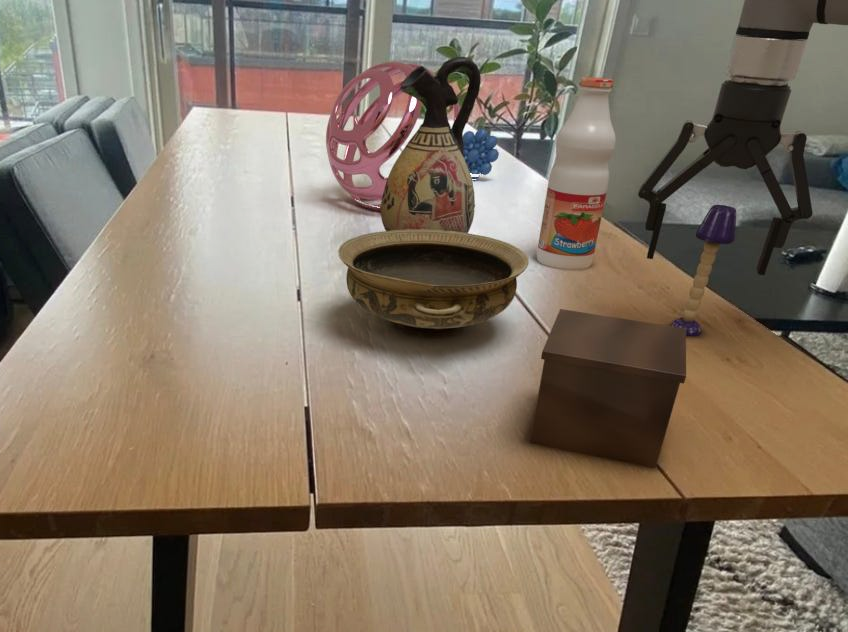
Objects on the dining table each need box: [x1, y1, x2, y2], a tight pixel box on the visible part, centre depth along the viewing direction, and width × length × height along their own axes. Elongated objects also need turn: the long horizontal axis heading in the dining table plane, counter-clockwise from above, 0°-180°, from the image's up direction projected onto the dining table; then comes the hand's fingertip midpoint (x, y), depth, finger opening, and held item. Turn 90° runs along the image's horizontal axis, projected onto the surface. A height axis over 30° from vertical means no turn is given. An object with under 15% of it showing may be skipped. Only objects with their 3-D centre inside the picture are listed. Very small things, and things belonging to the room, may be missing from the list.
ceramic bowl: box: [337, 229, 530, 338], centre depth 99 cm, size 30×24×10 cm
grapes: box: [462, 128, 500, 180], centre depth 185 cm, size 12×7×12 cm, turn 71°
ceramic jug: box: [379, 56, 482, 233], centre depth 123 cm, size 17×15×30 cm
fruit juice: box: [536, 76, 617, 271], centre depth 123 cm, size 9×9×28 cm
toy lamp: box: [669, 204, 737, 338], centre depth 100 cm, size 5×5×17 cm
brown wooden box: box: [529, 308, 687, 469], centre depth 76 cm, size 13×13×10 cm
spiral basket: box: [325, 60, 461, 212], centre depth 154 cm, size 28×28×27 cm
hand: (704, 264), depth 100 cm, fingers open, 13 cm apart
